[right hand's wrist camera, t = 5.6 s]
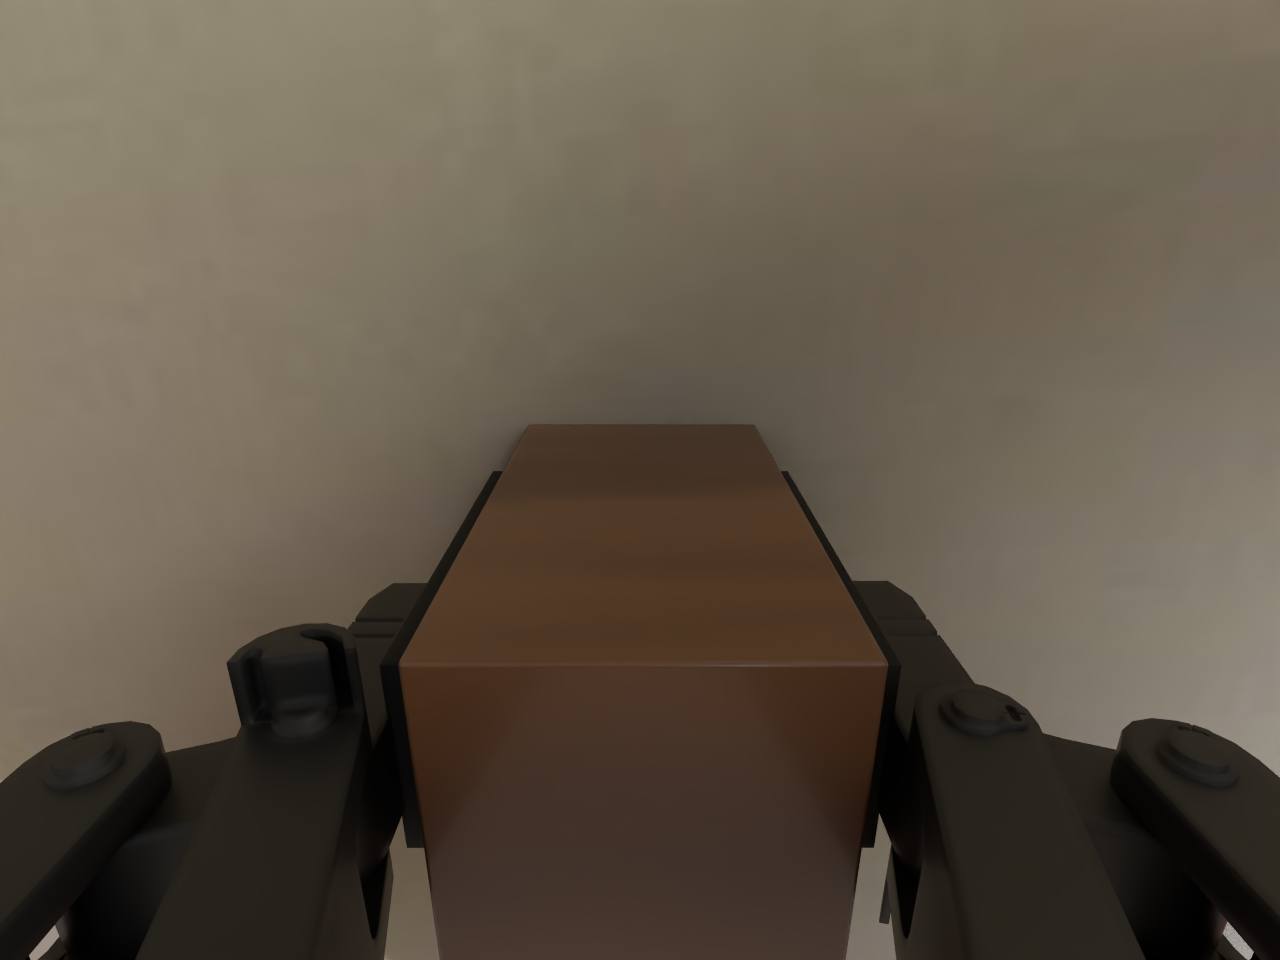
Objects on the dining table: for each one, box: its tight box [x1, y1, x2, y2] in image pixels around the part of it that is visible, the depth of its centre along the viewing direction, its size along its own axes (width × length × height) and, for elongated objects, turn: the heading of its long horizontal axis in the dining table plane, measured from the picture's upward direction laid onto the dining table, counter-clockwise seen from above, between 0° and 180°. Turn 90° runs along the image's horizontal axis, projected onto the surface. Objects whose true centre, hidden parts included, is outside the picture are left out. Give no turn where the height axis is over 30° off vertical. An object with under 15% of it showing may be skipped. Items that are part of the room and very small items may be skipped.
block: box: [398, 425, 888, 960], centre depth 11 cm, size 4×4×8 cm
